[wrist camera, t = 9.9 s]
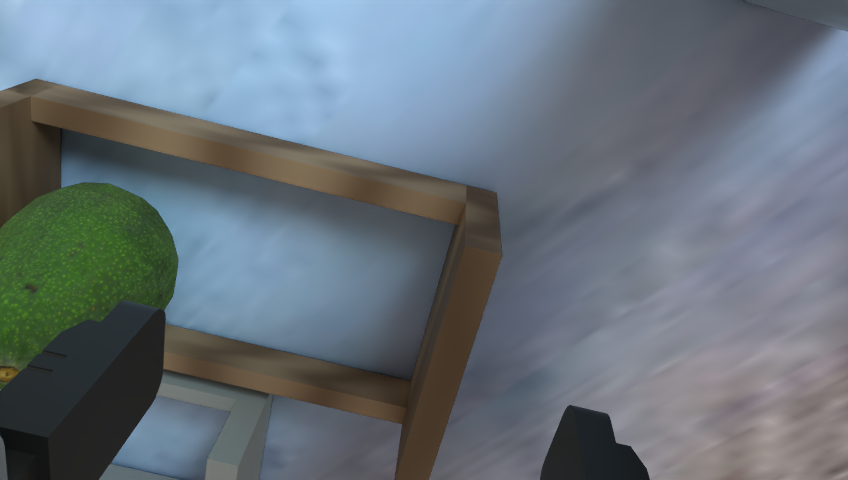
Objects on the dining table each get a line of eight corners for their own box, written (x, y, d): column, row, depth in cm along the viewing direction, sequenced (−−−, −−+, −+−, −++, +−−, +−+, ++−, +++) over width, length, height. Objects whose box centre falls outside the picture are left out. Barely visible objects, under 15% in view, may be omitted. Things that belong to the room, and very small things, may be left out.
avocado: (71, 280, 38) (-90, 423, 27) (54, 151, 34) (-137, 254, 24) (208, 300, 38) (102, 451, 27) (205, 172, 34) (83, 286, 24)
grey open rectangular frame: (275, 380, 40) (238, 465, 33) (254, 506, 44) (217, 603, 38) (-118, 288, 39) (-233, 359, 32) (-97, 428, 43) (-194, 513, 37)
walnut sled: (496, 193, 33) (502, 254, 27) (432, 402, 40) (424, 493, 33) (35, 78, 33) (-70, 115, 26) (42, 311, 39) (-43, 387, 32)
